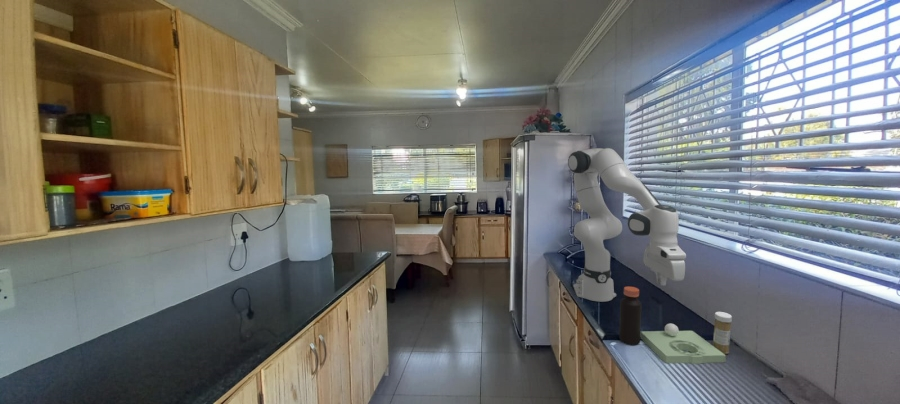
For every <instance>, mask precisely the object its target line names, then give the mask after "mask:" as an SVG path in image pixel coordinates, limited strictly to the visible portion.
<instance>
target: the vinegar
mask: <svg viewBox="0 0 900 404" xmlns="http://www.w3.org/2000/svg"><path fill="white" fill-rule="evenodd" d="M623 296H624V297H622V298H621V299H620V303H619V304H620V305H619V336H618V338H619V340H620V342H622V343H623V344H625V345H629V346H638V345H640V343H641V338H640V331H641V326H642V325H641V324H642V305H643V304H642V301H640V300H639V296H640V289H639V288H638V287H635V286H624V287H623Z"/></svg>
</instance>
